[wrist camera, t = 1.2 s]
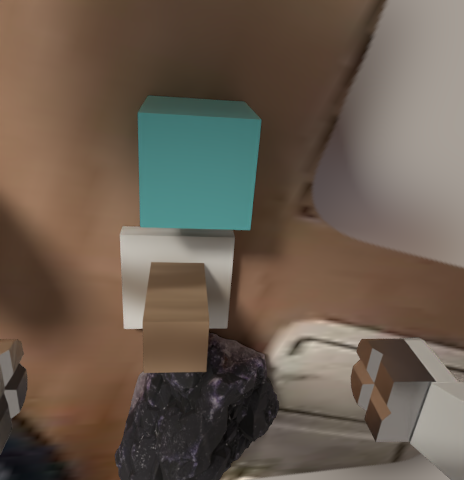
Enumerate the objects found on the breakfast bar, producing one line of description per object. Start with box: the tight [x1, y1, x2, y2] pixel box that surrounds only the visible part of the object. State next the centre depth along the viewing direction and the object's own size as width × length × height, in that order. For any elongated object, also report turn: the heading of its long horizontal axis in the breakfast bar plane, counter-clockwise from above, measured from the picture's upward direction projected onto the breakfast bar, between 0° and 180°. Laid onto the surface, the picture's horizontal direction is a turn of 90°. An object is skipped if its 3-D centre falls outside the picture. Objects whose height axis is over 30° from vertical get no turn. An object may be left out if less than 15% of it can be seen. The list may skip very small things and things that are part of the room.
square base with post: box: [120, 226, 235, 373], centre depth 29 cm, size 8×8×8 cm
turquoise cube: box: [138, 95, 261, 230], centre depth 25 cm, size 6×6×7 cm
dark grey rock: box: [115, 333, 279, 480], centre depth 34 cm, size 13×14×10 cm
